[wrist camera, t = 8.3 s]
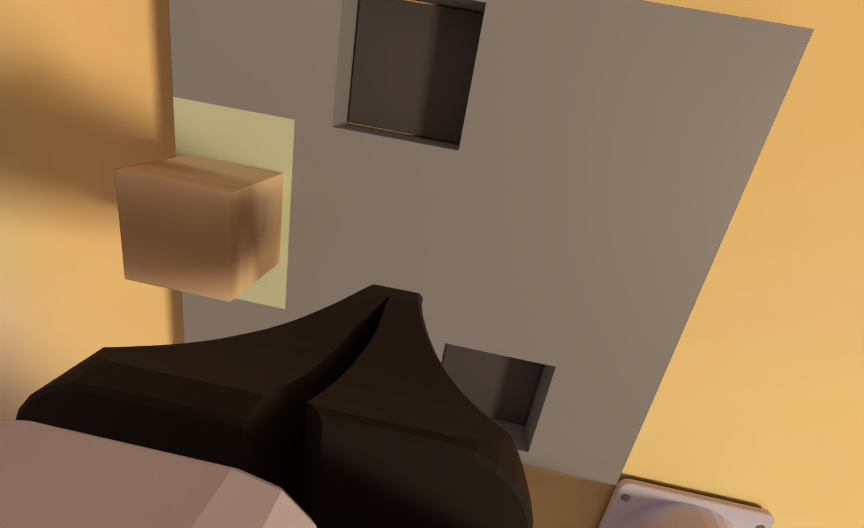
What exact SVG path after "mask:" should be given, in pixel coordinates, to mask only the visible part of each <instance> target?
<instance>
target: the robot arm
mask: <svg viewBox="0 0 864 528" xmlns="http://www.w3.org/2000/svg"><path fill="white" fill-rule="evenodd" d="M422 302H423V298H422V296H421V295H420V293H416V292H411V291H406V290H401V289H396V288H391V287H386V286H381V285H376V284H373V285H370V286H368V287H366V288H364V289H362V290H360V291H358V292H356V293H354V294H352V295H350V296H348V297H346V298H344V299H342V300H340V301H338V302H336V303H334V304H332V305H330V306H328V307H325V308H323V309H321V310H318V311H316V312H314V313H311V314H309V315H306V316H304V317H302V318H299V319H296V320H293V321H290V322H287V323H284V324H281V325H277V326H274V327H271V328H267V329H263V330H259V331H255V332H250V333H245V334H240V335H236V336H231V337H226V338H220V339H214V340H207V341H200V342H191V343H182V344H171V345H156V346H134V347H104V348H102V349H100V350H99V351H97V352H96V353H94V354H93V355H91V356H90V357H88V358H87V359H85V360H84V361H82V362H80V363H79V364H77V365H76V366H74V367H73V368H71V369H70V370H68V371H67V372H65V373H64V374H62V375H61V376H59V377H57V378H56V379H54V380H53V381H51V382H50V383H48V384H47V385H45V386H44V387H42V388H41V389H39V390H37V391H36V392H34V393H33V394H31V395H30V396H29V397H28V398H27V400H26V401H25V402H24V403H23V405H22V406H21V407H20V408H19V410H18V414H17V417H16V420H0V528H532V527H533V517H532V506H531V500H530V494H529V490H528V485H527V481H526V477H525V473H524V469H523V465H522V462H521V459H520V456H519V452H518V449H517V446H516V443H515V440H514V438H513V436H512V435H511V434H509V433H508V432H507V431H505V430H504V429H503V428H501V427H500V426H499V425H498V424H496V423H495V422H494V421H492V420H491V419H490V418H489V417H487V416H486V415H485V414H483V413H482V412H481V411H480V410H479V409H478V408H477V407H476V406H475V405H474V404H473V403H472V402H471V401H470V400H469V399H468V398H467V397H466V396H465V395H464V394H463V393H462V392H461V391H460V389H459V388H458V387H457V386H456V384H455V383H454V382H453V381H452V380H451V378H450V377H449V375H448V374H447V372H446V371H445V369H444V367H443V365H442V364H441V362H440V360H439V358H438V356H437V354H436V352H435V350H434V348H433V345H432V343H431V341H430V338H429V335H428V332H427V329H426V325H425V322H424V318H423V312H422ZM624 494H627V495H625V496H624ZM773 523H774V517H773V516H772V514H771V513H770V512H769V511H768V510H766V509H762V508H757V507H753V506H748V505H744V504H740V503H735V502H731V501H726V500H722V499H717V498H713V497H708V496H704V495H699V494H695V493H691V492H686V491H682V490H677V489H673V488H668V487H664V486H659V485H655V484H651V483H646V482H642V481H637V480H633V479H622V480H620V481H619V482H618V483H617V485H616V488H615V490H614V492H613V495H612V497H611V499H610V502H609V504H608V506H607V508H606V511H605V513H604V515H603V518H602V520H601V522H600V525H599V527H598V528H771V527H772V525H773Z"/></svg>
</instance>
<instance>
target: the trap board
mask: <svg viewBox="0 0 864 528" xmlns="http://www.w3.org/2000/svg"><path fill="white" fill-rule="evenodd" d="M417 1H422V2H428V3H434V4H440V5H446V6H452V7H458V8H463V9H469V10H475V11H481V12H484V14H480V13H474V12H468V11H462V10H457V9H451V8H445V7H439V6H433V5H427V4H422V3H416V2H410V1H404V0H360V4H359V0H169V19H170V41H171V63H172V85H173V107H174V129H175V150H176V157H179V156H184V155H190V154H192V155H197V156H202V157H207V158H212V159H217V160H222V161H227V162H232V163H237V164H242V165H247V166H252V167H257V168H262V169H266V170H271V171H276V172H281V173H284V179H283V199H282V220H281V241H280V262H279V264H277V265H276V266H275V267H273V268H272V269H271V270H270V271H268V272H267V273H266V274H265V275H263V276H262V277H261V278H260V279H258V280H257V281H256V282H255V283H253V284H252V285H251V286H250V287H248V288H247V289H246V290H245V291H243V292H242V293H241V294H240V295H238V296H237V297H236V298H234V299H233V300H232V301H231V302H229V301H224V300H219V299H215V298H210V297H206V296H201V295H196V294H192V293H187V292H183V291H182V304H183V326H184V343H191V342H200V341H207V340H214V339H220V338H226V337H231V336H236V335H240V334H245V333H250V332H255V331H259V330H263V329H267V328H271V327H274V326H277V325H281V324H284V323H287V322H290V321H293V320H296V319H299V318H302V317H304V316H306V315H309V314H311V313H314V312H316V311H318V310H321V309H323V308H325V307H328V306H330V305H332V304H334V303H336V302H338V301H340V300H342V299H344V298H346V297H348V296H350V295H352V294H354V293H356V292H358V291H360V290H362V289H364V288H366V287H368V286H370V285H373V284H376V285H381V286H386V287H391V288H396V289H401V290H406V291H411V292H416V293H420V295H421V296H422V298H423V302H422V312H423V318H424V322H425V325H426V329H427V332H428V335H429V338H430V341H431V343H432V345H433V348H434V350H435V352H436V354H437V356H438V358H439V360H440V362H442V357H443V352H444V348H445V343H447V346H446V350H445V355H444V360H443V367H444V369H445V371H446V372H447V374H448V375H449V377H450V378H451V380H452V381H453V382H454V383H455V384H456V386H457V387H458V388H459V389H460V391H461V392H462V393H463V394H464V395H465V396H466V397H467V398H468V399H469V400H470V401H471V402H472V403H473V404H474V405H475V406H476V407H477V408H478V409H479V410H480V411H481V412H482V413H483V414H485V415H486V416H487V417H489V418H490V419H491V420H492V421H494V422H495V423H496V424H498V425H499V426H500V427H501V428H503V429H504V430H505V431H507V432H508V433H509V434H511V435H512V436H513V438H514V440H515V443H516V446H517V449H518V452H519V456H520V459H521V462H522V464H523V465H528V466H532V467H536V468H541V469H545V470H550V471H554V472H559V473H563V474H567V475H572V476H576V477H581V478H585V479H590V480H594V481H598V482H603V483H607V484H612V485H616V484H617V482H618V480H619V477H620V475H621V473H622V470H623V468H624V466H625V463H626V461H627V459H628V457H629V454H630V452H631V450H632V447H633V445H634V443H635V440H636V438H637V436H638V434H639V431H640V429H641V427H642V424H643V422H644V420H645V417H646V415H647V413H648V411H649V408H650V406H651V404H652V401H653V399H654V397H655V394H656V392H657V390H658V387H659V385H660V383H661V381H662V378H663V376H664V374H665V371H666V369H667V367H668V364H669V362H670V360H671V358H672V355H673V353H674V351H675V348H676V346H677V344H678V341H679V339H680V337H681V334H682V332H683V330H684V328H685V325H686V323H687V321H688V318H689V316H690V314H691V311H692V309H693V307H694V305H695V302H696V300H697V298H698V295H699V293H700V291H701V288H702V286H703V284H704V281H705V279H706V277H707V275H708V272H709V270H710V268H711V265H712V263H713V261H714V258H715V256H716V254H717V252H718V249H719V247H720V245H721V242H722V240H723V238H724V235H725V233H726V231H727V229H728V226H729V224H730V222H731V219H732V217H733V215H734V212H735V210H736V208H737V205H738V203H739V201H740V199H741V196H742V194H743V192H744V189H745V187H746V185H747V182H748V180H749V178H750V176H751V173H752V171H753V169H754V166H755V164H756V162H757V159H758V157H759V155H760V152H761V150H762V148H763V146H764V143H765V141H766V139H767V136H768V134H769V132H770V129H771V127H772V125H773V123H774V120H775V118H776V116H777V113H778V111H779V109H780V106H781V104H782V102H783V99H784V97H785V95H786V93H787V90H788V88H789V86H790V83H791V81H792V79H793V76H794V74H795V72H796V70H797V67H798V65H799V63H800V60H801V58H802V56H803V53H804V51H805V49H806V47H807V44H808V42H809V40H810V37H811V35H812V33H813V30H814V29H810V28H804V27H798V26H792V25H786V24H780V23H774V22H768V21H762V20H756V19H750V18H744V17H738V16H732V15H726V14H720V13H714V12H708V11H702V10H696V9H690V8H684V7H678V6H672V5H666V4H660V3H654V2H648V1H642V0H417ZM358 4H359V15H358ZM357 15H358V26H357ZM483 16H484V17H483ZM482 21H483V23H482ZM356 26H357V36H356ZM481 27H482V28H481ZM480 32H481V34H480ZM355 36H356V47H355ZM479 38H480V39H479ZM478 43H479V44H478ZM354 47H355V58H354ZM477 48H478V50H477ZM476 54H477V55H476ZM353 58H354V68H353ZM475 59H476V60H475ZM474 64H475V66H474ZM352 69H353V79H352ZM473 70H474V71H473ZM472 75H473V76H472ZM351 79H352V90H351ZM471 81H472V82H471ZM470 86H471V87H470ZM350 90H351V100H350ZM469 91H470V93H469ZM468 97H469V98H468ZM349 101H350V111H349ZM467 102H468V103H467ZM466 107H467V109H466ZM348 112H349V122H351V123H357V124H362V125H367V126H373V127H378V128H383V129H389V130H394V131H399V132H405V133H410V134H415V135H421V136H426V137H431V138H437V139H442V140H447V141H452V142H458V143H460V145H458V144H453V143H447V142H442V141H437V140H432V139H426V138H421V137H416V136H410V135H405V134H400V133H394V132H389V131H384V130H378V129H373V128H368V127H362V126H357V125H352V124H347V122H348ZM465 113H466V114H465ZM464 118H465V119H464ZM463 124H464V125H463ZM462 129H463V130H462ZM461 134H462V136H461ZM460 140H461V141H460ZM543 364H544V366H543ZM542 366H543V369H542ZM541 369H542V372H541ZM540 372H541V375H540ZM539 375H540V379H539ZM538 379H539V382H538ZM537 382H538V385H537ZM536 385H537V388H536ZM535 388H536V392H535ZM534 392H535V395H534ZM533 395H534V398H533ZM532 398H533V401H532ZM531 401H532V404H531ZM530 405H531V408H530ZM529 408H530V411H529ZM528 411H529V414H528ZM527 414H528V417H527ZM526 417H527V421H526ZM525 421H526V424H525Z"/></svg>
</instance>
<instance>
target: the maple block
mask: <svg viewBox="0 0 864 528" xmlns="http://www.w3.org/2000/svg"><path fill="white" fill-rule="evenodd" d="M115 178H116V189H117V199H118V210H119V221H120V232H121V242H122V253H123V264H124V275H125V279H127V280H132V281H137V282H141V283H146V284H150V285H155V286H160V287H164V288H169V289H173V290H178V291H183V292H187V293H192V294H196V295H201V296H206V297H210V298H215V299H219V300H224V301H229V302H231V301H232V300H233V299H234V298H236V297H237V296H238V295H240V294H241V293H242V292H243V291H245V290H246V289H247V288H248V287H250V286H251V285H252V284H253V283H255V282H256V281H257V280H258V279H260V278H261V277H262V276H263V275H265V274H266V273H267V272H268V271H270V270H271V269H272V268H273V267H275V266H276V265H277V264H279V262H280V241H281V220H282V199H283V179H284V173H281V172H276V171H271V170H266V169H262V168H257V167H252V166H247V165H242V164H237V163H232V162H227V161H222V160H217V159H212V158H207V157H202V156H197V155H192V154H190V155H184V156H179V157H174V158H169V159H164V160H159V161H154V162H149V163H144V164H139V165H134V166H129V167H124V168H119V169H115Z"/></svg>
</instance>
